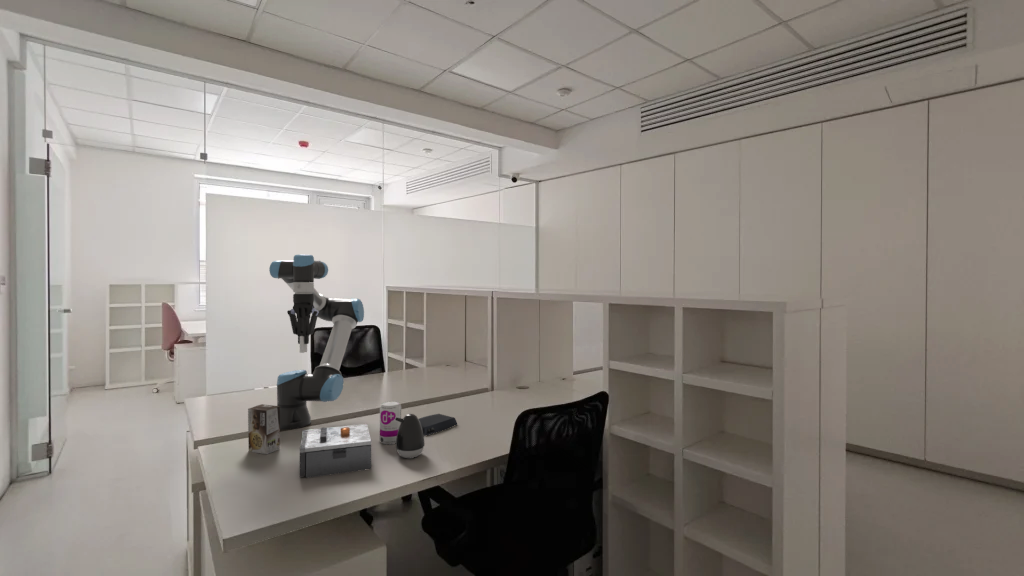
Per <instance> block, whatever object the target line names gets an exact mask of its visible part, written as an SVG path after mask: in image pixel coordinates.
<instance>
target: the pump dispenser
mask: <svg viewBox="0 0 1024 576" xmlns="http://www.w3.org/2000/svg"><path fill="white" fill-rule="evenodd" d="M395 420H396V421H399V422H401V424H400V426H399V429H398V433H397V438H396V444H395V448H396V452H397V453H398V455H399V456H400V457H401V458H404V459H414V457H415V458H416V457H419V456H420V455H421V454H422V452H423V451H424V447H425V444H426V443H425V436H424V434H423V429H422V426H421V424H420V421H419V418H418V416H417V415H416V414H414V413H407V414H406V415H404V417H403V418H402V417H401V418H397V417H396V419H395Z"/></svg>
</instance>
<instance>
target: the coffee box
mask: <svg viewBox="0 0 1024 576" xmlns="http://www.w3.org/2000/svg"><path fill="white" fill-rule="evenodd" d="M247 415H248V416H247V423H248V424H247V427H248V429H247V430H248V431H247V433H248V452H249V453H256V454H263V455H268V454H271V453H274V452H276V451H278V450H279V451H280V449H281V434H280V433H281V429H280V406H277V405H272V404H270V405H269V404H258V405H256V406H252V407H249V408H248V409H247Z"/></svg>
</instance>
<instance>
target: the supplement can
mask: <svg viewBox="0 0 1024 576" xmlns="http://www.w3.org/2000/svg"><path fill="white" fill-rule="evenodd" d="M396 417H397V418H402V405H401V403H400V402H399V401H394V400H392V401H391V400H388V401H385V402H382V403H381V405H380V406H379V442H380V443H381V444H382V443H383V444H382V445H387V444H389V445H396V444H395V443H396V438H397V433H398V429H399V426H400V424H401V422H399V421H396V420H395V419H396Z"/></svg>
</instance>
